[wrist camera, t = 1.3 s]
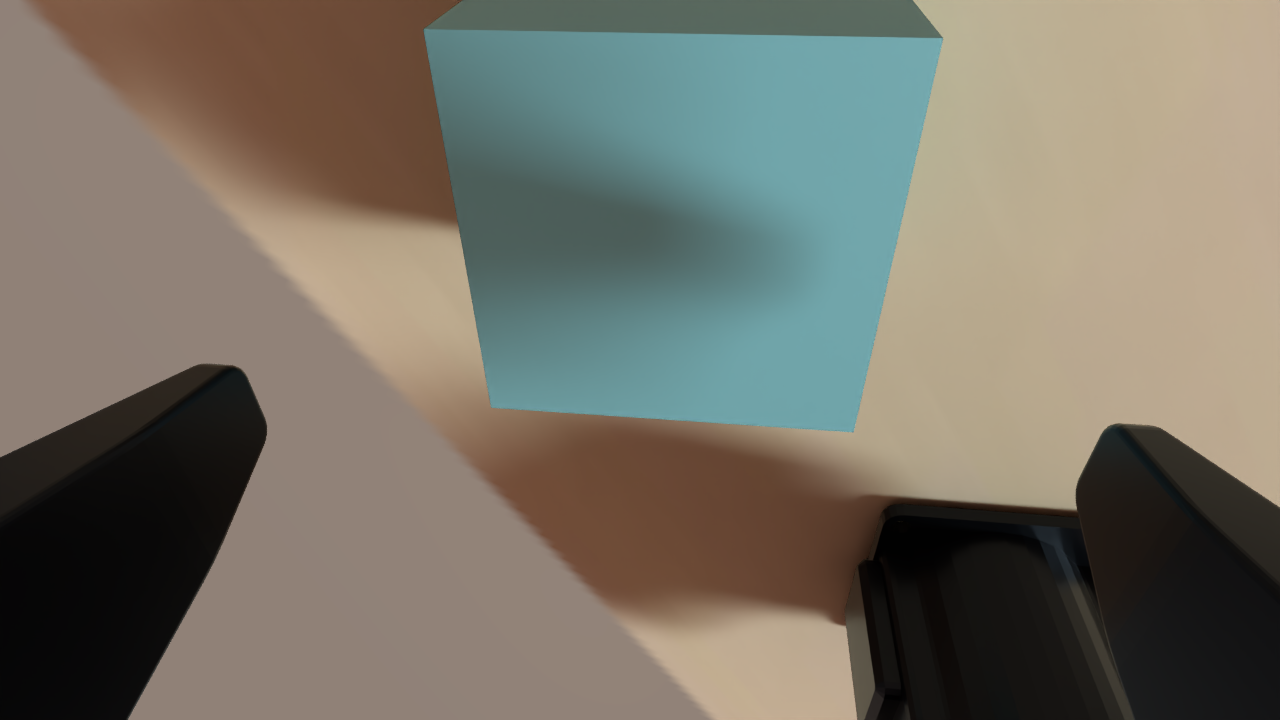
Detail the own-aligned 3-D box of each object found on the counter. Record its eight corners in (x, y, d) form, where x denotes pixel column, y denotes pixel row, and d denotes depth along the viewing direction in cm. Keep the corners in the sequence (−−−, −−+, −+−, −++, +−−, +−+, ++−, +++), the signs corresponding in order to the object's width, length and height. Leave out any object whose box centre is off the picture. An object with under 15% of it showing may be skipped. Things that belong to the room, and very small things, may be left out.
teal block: (870, -52, 13) (943, 38, 8) (822, 250, 17) (853, 432, 12) (535, -54, 13) (423, 28, 9) (561, 238, 17) (491, 407, 12)
